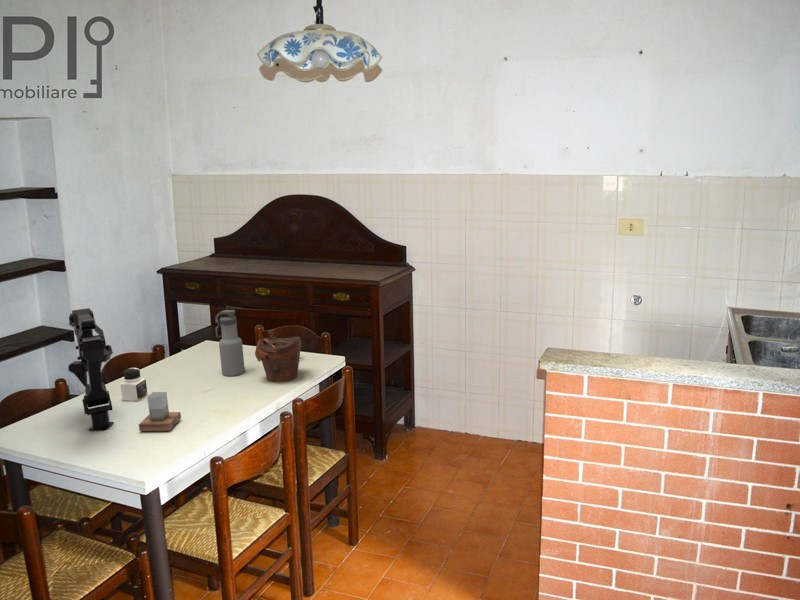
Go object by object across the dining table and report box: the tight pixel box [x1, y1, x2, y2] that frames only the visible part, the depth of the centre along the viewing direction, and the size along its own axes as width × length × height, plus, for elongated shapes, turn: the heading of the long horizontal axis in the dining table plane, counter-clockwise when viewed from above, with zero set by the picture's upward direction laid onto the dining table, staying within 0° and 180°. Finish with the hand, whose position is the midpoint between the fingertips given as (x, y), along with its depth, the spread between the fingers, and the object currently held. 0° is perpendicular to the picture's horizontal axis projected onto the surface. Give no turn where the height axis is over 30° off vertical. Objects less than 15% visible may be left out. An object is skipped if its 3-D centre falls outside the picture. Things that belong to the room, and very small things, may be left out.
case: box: [254, 336, 302, 383], centre depth 300 cm, size 18×20×18 cm
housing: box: [146, 391, 170, 421], centre depth 254 cm, size 5×5×9 cm
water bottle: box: [214, 309, 245, 377], centre depth 307 cm, size 10×10×28 cm
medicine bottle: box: [119, 367, 149, 402], centre depth 284 cm, size 7×7×12 cm
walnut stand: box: [138, 411, 182, 432], centre depth 255 cm, size 11×11×3 cm
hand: (91, 381), depth 266 cm, fingers open, 9 cm apart
